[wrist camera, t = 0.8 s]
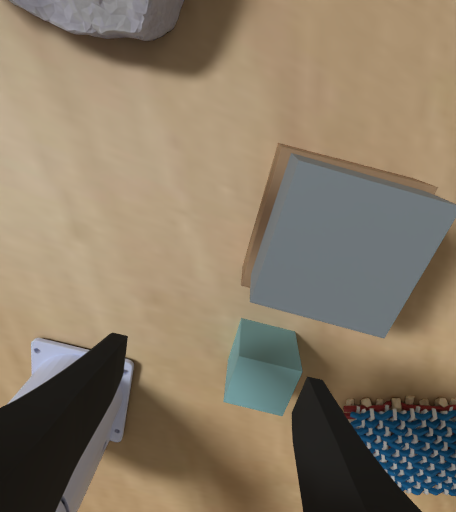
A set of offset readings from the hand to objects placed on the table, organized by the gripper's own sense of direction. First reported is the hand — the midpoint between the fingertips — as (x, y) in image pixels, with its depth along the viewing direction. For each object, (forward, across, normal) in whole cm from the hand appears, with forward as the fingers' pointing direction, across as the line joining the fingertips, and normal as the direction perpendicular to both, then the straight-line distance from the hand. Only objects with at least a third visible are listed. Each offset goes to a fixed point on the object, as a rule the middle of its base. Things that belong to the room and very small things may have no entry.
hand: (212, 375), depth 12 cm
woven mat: (+10, -18, +12) cm, 24 cm away
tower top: (+7, -5, -5) cm, 10 cm away
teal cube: (+10, -4, +6) cm, 12 cm away
